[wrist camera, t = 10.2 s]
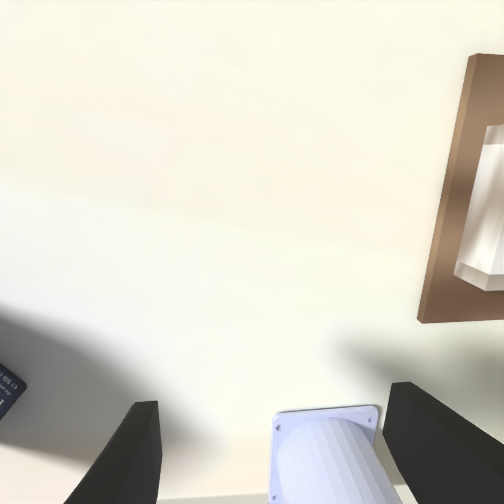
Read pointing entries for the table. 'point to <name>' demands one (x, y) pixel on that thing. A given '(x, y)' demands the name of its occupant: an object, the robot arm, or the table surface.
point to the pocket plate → (471, 207)
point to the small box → (9, 390)
